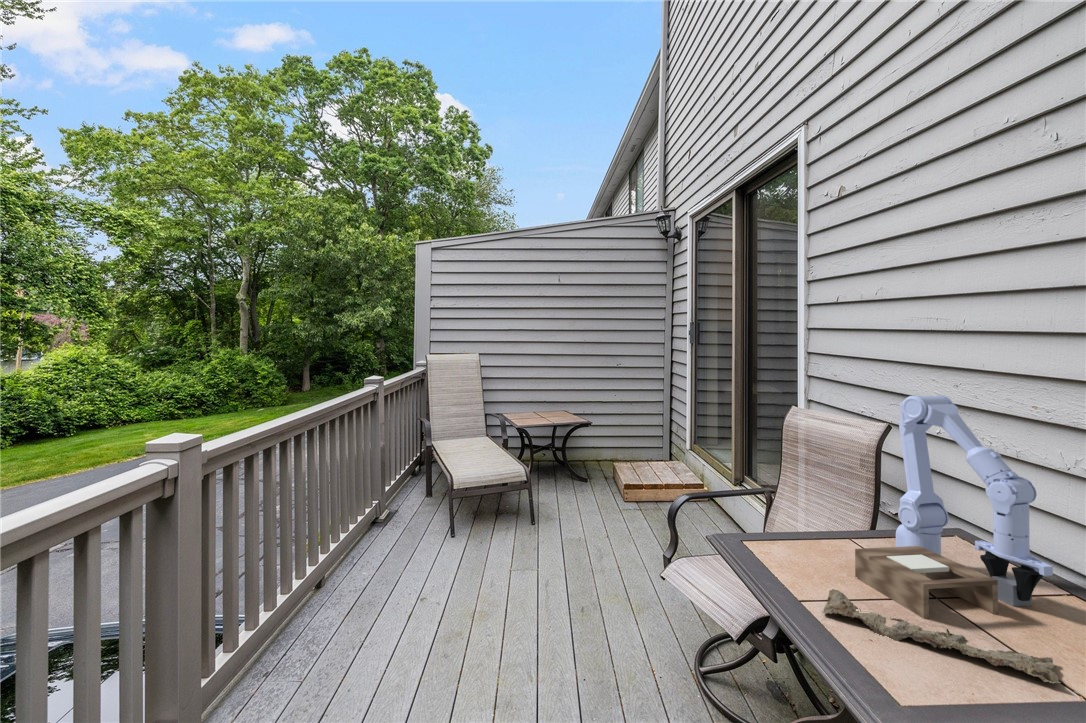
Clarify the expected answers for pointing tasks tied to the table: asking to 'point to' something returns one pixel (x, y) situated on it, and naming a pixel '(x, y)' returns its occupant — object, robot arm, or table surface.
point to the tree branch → (942, 639)
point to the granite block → (1009, 591)
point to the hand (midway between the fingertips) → (1011, 594)
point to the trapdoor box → (923, 579)
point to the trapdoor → (920, 563)
